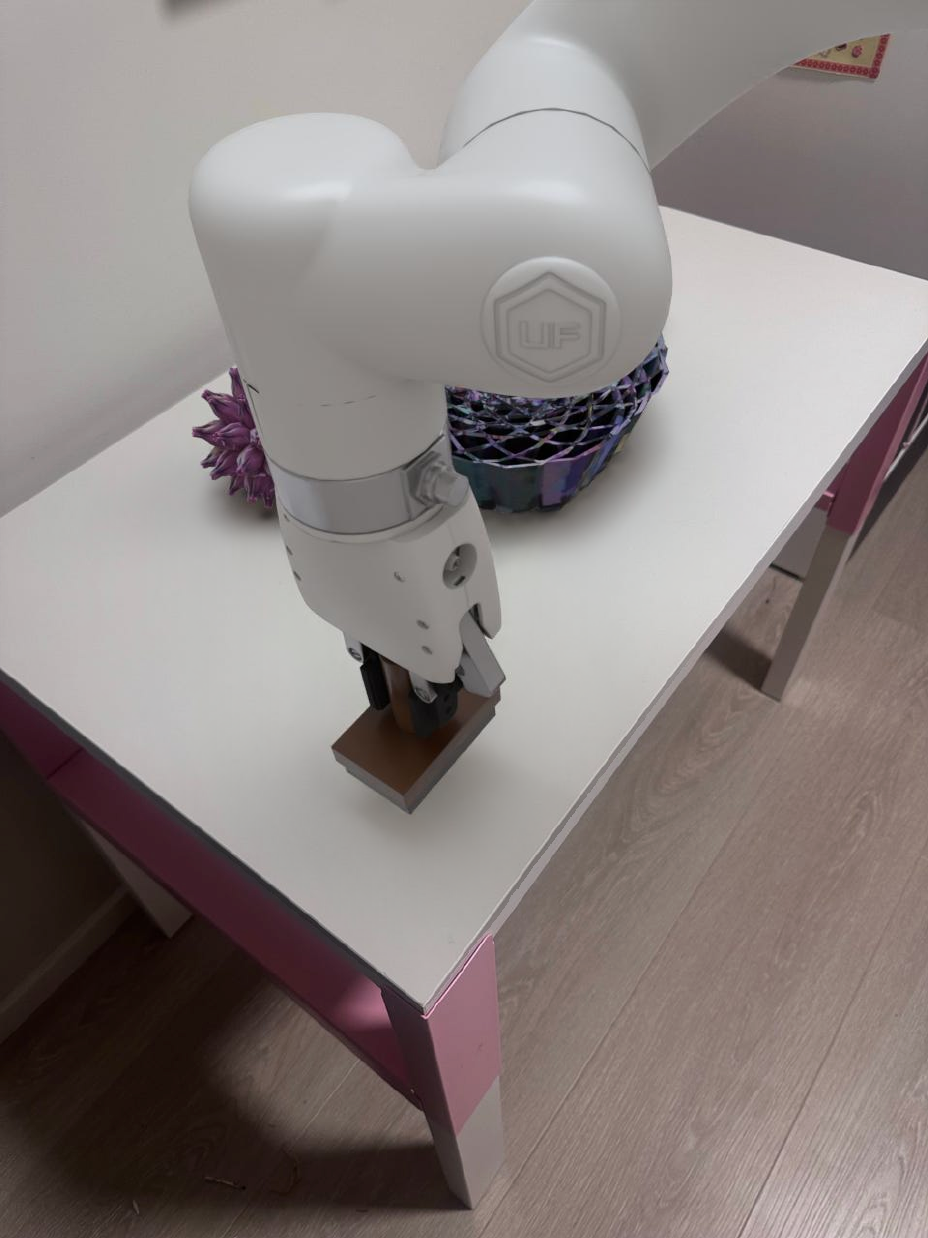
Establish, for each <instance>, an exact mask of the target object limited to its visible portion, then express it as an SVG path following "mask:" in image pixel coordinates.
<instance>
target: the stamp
mask: <svg viewBox="0 0 928 1238" xmlns="http://www.w3.org/2000/svg"><path fill="white" fill-rule="evenodd" d="M378 654H379V658H380V662H381V666H382V670H383V674H384V678H385V682H386V686H387V690H388V694H389V698H390V703H389V704H388V705H387V706H386V708H385V709H383V710H376V709H375V708H373V707H371V706H370V705H369V706H368V707H367V708H366V709H365V710H364V711H363V712H362V713H361V714H360V715H359V717H357V718H356V720H355V721H354V722H353V723H352V724H351V725H349V727H348V728H347V729H346V730H345V731H344V732H343V733H342V734H341V735H340V736H339V737H338V738H337V739H336V741H335V742H334V743H333V744H331V745H330V749H331V752H332V754H333V758H334V759H335V762H337V763H338V764H340V765H341V766H342V767H344V768H345V770H346V773H348V774H349V775H350V776H351V777H354V778H355V779H356V780H358V781H359V782H361V783H362V784H364V785H365V786H366V787H368V788H370V789H371V790H372V791H374V792H376V793H377V794H378V795H380V796H381V797H383V798H384V799H386V800H387V801H389V802H390V803H391V804H393V805H394V806H396V807H397V808H399V809H400V810H401V811H403V812H404V813H406V814H408V815H409V816H411V815H412V814H413V813H414V812H415V811H416V810H417V808H419V806H420V805H421V803H422V802H423V801H424V800H425V799H426V798H427V797H428V795H429V794H430V793H431V792H432V791H433V790H434V788H435V787H436V786H437V785H438V784H439V782H440V781H441V780H442V779H443V777H445V775H446V774H447V773H448V772H449V771H450V770H451V768H452V767H453V766H454V765H455V764H456V762H458V760H459V759H460V758H461V756H462V755H463V754H464V753H465V752H466V751H467V750H468V748H469V747H470V746H471V745H472V744H473V743H474V741H475V740H476V739H477V738H478V736H479V735H480V734H481V733H482V732H483V731H484V730H485V728H486V727H487V726H488V725H489V724H490V722H492V720H493V719H494V718H495V716H496V715H497V713H496V712H497V711H496V706H497V705H498V704H499V703H500V701H501V700H502V696H501V686H500V687H499V688H498V689H497V691H496V692H495V693H494V694H493V695H492V696H491V697H484V696H480V695H475V694H471V693H467V691H466V690H464V689H461V690H460V691H459V692H458V693H457V695H458V702H457V703H458V707H457V710H456V713H455V714H454V716H453V717H452V718H451V720H450V721H449V722H448V723H447V724H446V725H444V726H440V725H438V727H437V728H436V729H435V730H434V731H433V732H432V733H431V734H430V736H429V737H428V738H427V739H425V740H424V739H422V738H421V737H419V736H417V735H416V732H415V730H414V726H413V721H412V717H411V713H410V708H409V704H408V699H407V696H408V693H409V692H410V691H411V690H412V689H413V686H412V682H411V679H410V675H409V672H408V670H407V669H405V668H404V667H402V666H400V665H398V664H397V663H395V662H393V661H392V660H390V659H388V658H386V657H385V656H383V655H381V654H380V653H378Z"/></svg>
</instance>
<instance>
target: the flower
mask: <svg viewBox="0 0 928 1238" xmlns="http://www.w3.org/2000/svg"><path fill="white" fill-rule="evenodd" d="M228 374H229V378H230V389H231V394H229V393H225V392H213V391H211V390H209V389H208V388H205V389H204V390H203V393H201V395H200V397H201V399H203V400H204V401H206V402H207V404H208V406H209V407H210V410H211V412H212V413H213V415H214V416H215V417H217V418H218V419H213V420H210V421H208V422H206V423H205V424H203V425H198V426H192V427H191V431H192V432H191V437H193V438H197V439H202V440H203V441H205V442H206V443H208V444H209V445H211V446H212V447H213V448H212V449H211V450H210V451H209V454H208V455H207V456H206V457H205V458H204V459H201V461H200V466H202V469H205V470H206V469H208V468H213V469H211V470H210V471H209V473H208V475H209V476H210V477H211V481H216V480H218V479H220V478H222V477H230V480H229V481H230V482H229V487H228V488H227V491H226V495H228V496H230V497H233V496H234V495H235V494H236V493H237V492H238V491H240V490H242V489H244V488H245V490H246V493H247V500H246V501H247V502H249V503H250V504H252V503H254V504H256V503H257V501H258V498H259V497H260V496H261V498H262V500H263V507H264V508H268V509H269V508H273V503H274V499H275V498H276V496H275V485H274V481H273V478H272V475H271V472H270V469H269V466H268V463H267V460H266V456H265V453H264V450H263V447H262V444H261V441H260V438H259V435H258V432H257V428H256V425H255V422H254V419H253V416H252V413H251V410H250V407H249V403H248V400H247V397H246V394H245V391H244V388H243V385H242V382H241V379H240V375H239V372H238V369H237V367H230V368H229V371H228Z"/></svg>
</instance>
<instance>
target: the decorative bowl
mask: <svg viewBox="0 0 928 1238" xmlns="http://www.w3.org/2000/svg"><path fill="white" fill-rule="evenodd" d="M668 350H669V348H668V346H667V345H666V342H665V337H664V334H663V332H662V333H661V335H660V337H659V339H658V341H657V343H656V344H655V346H654V348H653V349H652V350H651V351H650V353H649V354H648V355H647V357H646V358H645V359H644V360H643V362H642V363H641V364H639V365H638V366H637V367H636V368H635V369H634V370H633V371H632V372H630V373H629V374H628V375H627V376H625V377H623V378H622V379H620V380H619V381H617V382H615V383H614V384H612V385H609V386H607V387H605V388H603V389H601V390H598V391H594V392H591V393H587V394H584V395H579V396H572V397H563V398H526V397H517V396H509V395H501V394H495V393H489V392H483V391H477V390H472V389H466V388H461V387H455V386H449V385H445V394H446V403H447V414H448V423H449V432H450V441H451V450H452V458H453V467H454V469H455V471H456V472H457V473H459V474H461V475H463V476H465V477H467V478H468V480H469V485H470V488H471V490H472V493H473V495H474V497H475V500H476V502H477V504H478V507H479V510H482V511H495V510H498V511H499V512H500V513H501V514H507V515H511V516H512V515H518V514H519V515H520V514H527V513H531V512H533V511H534V510H535V509H538V510H540V511H542V512H551V511H560V510H561V509H563V507H564V506H565V505H566V504H567V503H568V502H570V500H571V499H573V497H574V496H575V495H576V494H577V493H578V492H580V491H581V490H583V489H585V488H587V487H588V486H590V485H591V484H592V482H593V480H594V479H595V477H596V476H597V475H598V474H600V473H601V472H602V471H604V470H605V469H606V468H607V466H608V465H609V464H610V461H611V459H612V457H613V456H614V455H615V454H618V453H621V451H622V449H623V447H624V446H625V444H626V442H627V440H628V438H629V437H630V435H631V433H632V432H633V430H634V429H635V427H636V425H637V423H638V421H639V420H640V417H641V415H642V414H643V413H644V410H645V408H646V407H647V405H648V403H649V401H650V399H651V398H652V396H653V395H655V394H658V393H659V391H660V390H661V388H662V387H663V385H664V383H665V381H666V379H667V377H668V375H669V373H670V371H669V367H668V364H667V362H666V360H667V356H668Z"/></svg>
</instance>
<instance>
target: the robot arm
mask: <svg viewBox="0 0 928 1238" xmlns="http://www.w3.org/2000/svg"><path fill="white" fill-rule="evenodd" d="M921 31H922V32H923V31H928V0H532V1H531V2H530V3H529V4H528V5H527V6H526V7H525V8H524V10H522V12H520V14H519V15H518V16H517V17H516V18H515V19H514V21H512V23H511V24H509V26H508V27H507V28H506V29H505V30H504V31H503V33H501V35H500V36H499V37H498V38H497V39H496V40H495V42H493V44H492V45H491V46H490V47H489V48H488V50H486V52H485V53H484V54H483V56H482V57H480V59H479V60H478V62H477V63H476V64H475V66H474V67H473V69H472V70H471V72H470V73H469V75H468V76H467V78H466V79H465V81H464V82H463V83H462V85H461V87H460V89H459V91H458V93H457V95H456V96H455V98H454V101H453V102H452V104H451V106H450V108H449V111H448V113H447V116H446V119H445V121H444V125H443V127H442V133H441V137H440V142H439V147H438V154H437V161H436V167H435V168H433V169H425V168H423V167H421V166H419V165H418V163H417V162H416V160H415V158H414V156H413V154H412V152H411V150H410V149H409V148H408V146H407V145H406V143H405V142H404V141H403V140H402V139H401V138H400V136H399V135H398V134H397V133H395V132H394V131H393V130H391V129H390V128H389V127H387V126H385V125H383V124H382V123H380V122H378V121H376V120H373V119H371V118H368V117H365V116H360V115H357V114H350V113H342V112H325V111H324V112H323V111H322V112H304V113H303V112H302V113H294V114H288V115H281V116H277V117H272V118H269V119H265V120H261V121H259V122H258V121H257V122H255V123H253V124H250V125H248V126H245V127H242V128H241V129H238V130H236V131H234V132H232V133H230V134H229V135H227V136H225V137H224V138H221V139H220V140H219V141H217V142H216V143H215V144H214V145H212V146H211V147H210V148H208V150H207V152H206V153H205V154H204V155H203V156H202V158H200V160H199V161H198V162H197V164H196V166H195V168H194V170H193V172H192V175H191V178H190V181H189V188H188V199H187V202H188V214H189V218H190V222H191V226H192V229H193V233H194V237H195V241H196V244H197V245H196V246H197V247H198V250H199V255H200V257H201V261H202V263H203V266H204V269H205V272H206V276H207V278H208V281H209V285H210V288H211V292H212V294H213V298H214V300H215V303H216V307H217V310H218V313H219V317H220V320H221V323H222V326H223V328H224V332H225V334H226V338H227V341H228V343H229V347H230V350H231V353H232V356H233V359H234V363H235V366H236V368H237V369H238V372H239V375H240V379H241V382H242V385H243V388H244V391H245V394H246V397H247V400H248V403H249V407H250V410H251V413H252V416H253V419H254V422H255V425H256V428H257V432H258V435H259V438H260V441H261V444H262V447H263V450H264V453H265V456H266V460H267V463H268V466H269V469H270V472H271V475H272V478H273V481H274V485H275V503H276V510H277V515H278V516H277V517H278V521H279V522H278V523H279V528H280V530H281V535H282V540H283V544H284V549H285V551H286V556H287V559H288V563H289V566H290V569H291V572H292V575H293V578H294V580H295V584H296V586H297V588H298V590H299V593H300V595H301V598H302V599H303V601H304V603H305V605H306V606H307V607H308V608H309V609H310V610H311V611H312V612H313V613H314V614H315V615H317V616H318V617H319V618H321V619H322V620H324V621H325V622H326V623H328V624H330V625H331V626H333V627H335V628H336V629H338V630H339V631H341V632H342V634H343V638H344V643H345V648H346V651H347V652H348V655H350V657H351V658H352V659H353V660H354V661H356V662H357V663H361V665H360V666H359V671H360V675H361V679H362V682H363V685H364V689H365V692H366V696H367V699H368V703H369V706H371V707H373V708H375V709H376V710H383V709H385V708H386V706H387V705H388V704H389V703H390V698H389V694H388V690H387V686H386V682H385V678H384V674H383V670H382V666H381V662H380V658H379V654H378V653H380V654H381V655H383V656H385V657H386V658H388V659H390V660H392V661H393V662H395V663H397V664H398V665H400V666H402V667H404V668H405V669H407V670H408V672H409V675H410V679H411V682H412V686H413V689H412V690H411V691H410V692H409V693H408V696H407V699H408V704H409V708H410V713H411V717H412V721H413V726H414V730H415V732H416V735H417V736H419V737H421V738H422V739H424V740H425V739H427V738H428V737H429V736H430V734H431V733H432V732H433V731H434V730H435V729H436V728H437V727H438V725H440V726H444V725H446V724H447V723H448V722H449V721H450V720H451V718H452V717H453V716H454V714H455V713H456V710H457V707H458V703H457V702H458V695H457V693H458V692H459V691H460V690H461V689H464V690H466V691H467V693H471V694H475V695H480V696H484V697H491V696H492V695H493V694H494V693H495V692H496V691H497V689H498V688H499V687H500V688H501V686H502V685H503V684H504V682H506V680H507V676H506V674H505V673H504V671H503V668H502V667H501V665H500V663H499V662H498V659H497V657H496V656H495V654H494V652H493V651H492V649H491V646H490V645H489V643H488V642H487V639H486V638H488V639H490V640H492V641H493V639H494V638H495V637H496V635H497V634H498V633H499V632H500V630H501V629H502V607H501V599H500V592H499V591H500V590H499V585H498V578H497V573H496V567H495V562H494V557H493V552H492V548H491V543H490V539H489V535H488V533H487V529H486V526H485V523H484V522H485V521H484V519H483V516H482V514H481V509H479V507H478V504H477V502H476V500H475V497H474V495H473V493H472V490H471V488H470V485H469V480H468V478H467V477H465V476H463V475H461V474H459V473H457V472H456V471H455V469H454V467H453V458H452V450H451V441H450V432H449V423H448V414H447V403H446V394H445V385H449V386H455V387H461V388H466V389H472V390H477V391H483V392H489V393H495V394H501V395H509V396H517V397H526V398H563V397H572V396H579V395H584V394H587V393H591V392H594V391H598V390H601V389H603V388H605V387H607V386H609V385H612V384H614V383H615V382H617V381H619V380H620V379H622V378H623V377H625V376H627V375H628V374H629V373H630V372H632V371H633V370H634V369H635V368H636V367H637V366H638V365H639V364H641V363H642V362H643V360H644V359H645V358H646V357H647V355H648V354H649V353H650V351H651V350H652V349H653V348H654V346H655V344H656V343H657V341H658V339H659V337H660V335H661V333H662V334H663V331H664V329H665V326H666V323H667V320H668V317H669V313H670V309H671V304H672V303H671V302H672V296H673V268H672V256H671V251H670V245H669V242H668V236H667V237H666V232H667V231H666V232H665V230H666V229H665V225H664V221H663V218H662V213H661V210H660V206H659V203H658V199H657V195H656V191H655V187H654V182H653V178H652V173H651V171H652V170H653V169H655V167H656V166H658V165H659V164H660V163H661V162H662V161H663V160H665V159H666V158H667V157H668V156H669V155H671V153H672V152H674V151H675V150H676V149H678V147H680V146H681V145H682V144H683V143H684V142H686V140H688V139H689V138H690V137H691V136H693V134H695V133H696V132H697V131H698V130H699V129H700V128H702V127H703V126H704V125H705V124H707V123H708V121H710V120H711V119H712V118H713V117H715V116H717V114H719V113H720V112H721V111H724V109H726V108H727V107H728V106H730V104H732V103H733V102H734V101H736V100H737V99H739V98H740V97H742V96H743V95H745V94H746V93H748V92H749V91H751V90H752V89H753V88H755V87H757V86H758V85H759V84H761V83H763V82H764V81H766V80H768V79H769V78H771V77H773V76H775V75H776V74H778V73H779V72H781V71H783V70H785V69H787V68H789V67H791V66H793V65H795V64H797V63H800V62H801V61H803V60H806V59H808V58H810V57H812V56H814V55H816V54H820V53H822V52H824V51H827V50H830V49H832V48H835V47H838V46H840V45H844V44H847V43H851V42H855V41H859V40H862V39H868V38H873V37H879V36H884V35H891V34H901V33H911V32H921Z"/></svg>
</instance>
